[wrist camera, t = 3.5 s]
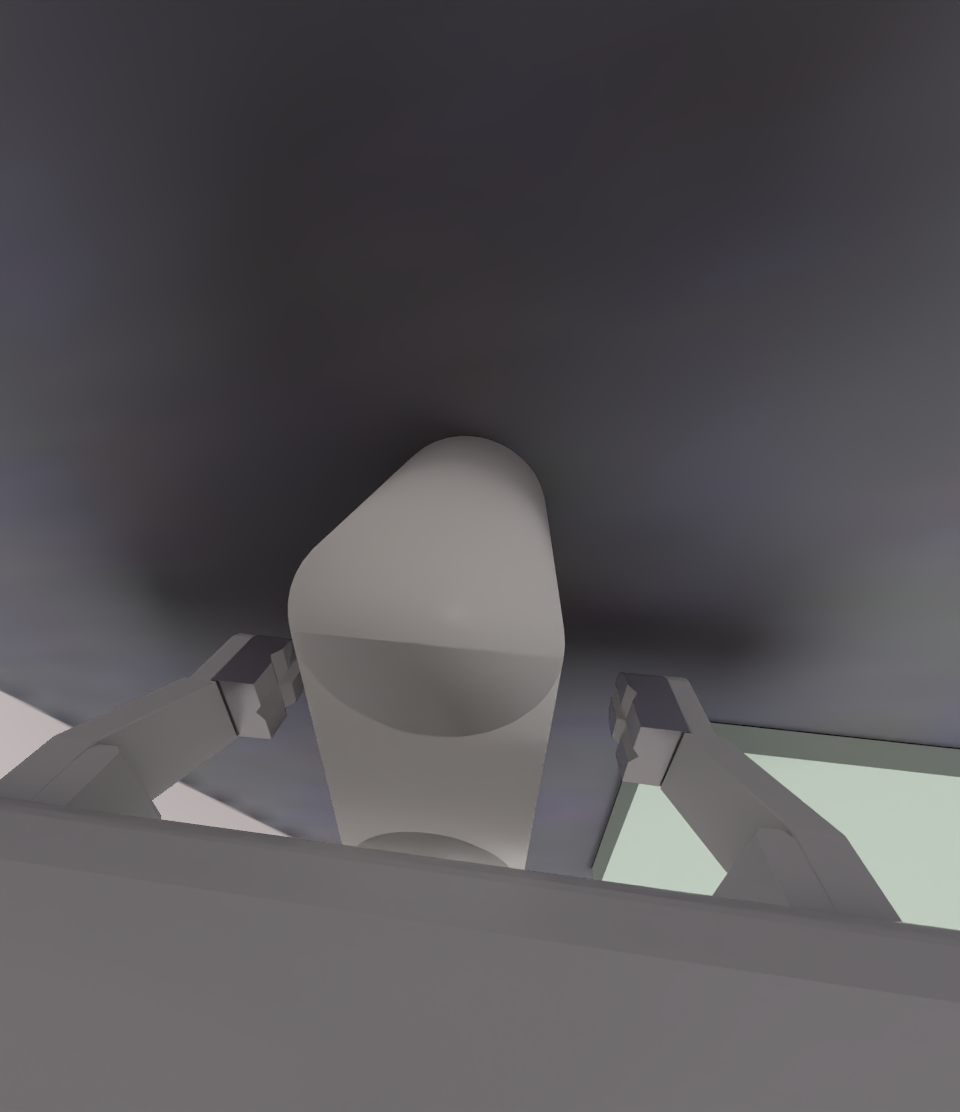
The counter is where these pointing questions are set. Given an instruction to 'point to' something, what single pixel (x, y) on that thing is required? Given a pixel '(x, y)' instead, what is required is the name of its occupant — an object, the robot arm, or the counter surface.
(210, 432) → the counter surface
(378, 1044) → the robot arm
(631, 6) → the counter surface
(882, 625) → the counter surface
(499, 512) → the connector
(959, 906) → the green mat
